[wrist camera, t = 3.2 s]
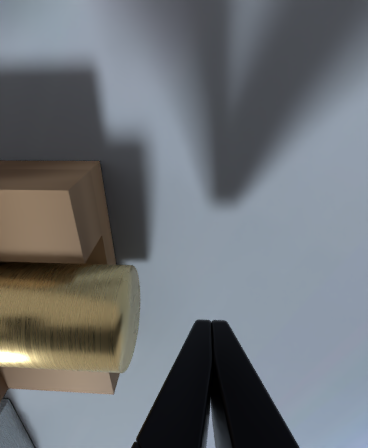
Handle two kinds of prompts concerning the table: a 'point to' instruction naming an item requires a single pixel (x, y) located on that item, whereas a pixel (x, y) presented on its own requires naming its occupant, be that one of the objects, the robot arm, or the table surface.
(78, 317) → the axle
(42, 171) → the brown notched block
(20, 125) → the table surface
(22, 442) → the v block
